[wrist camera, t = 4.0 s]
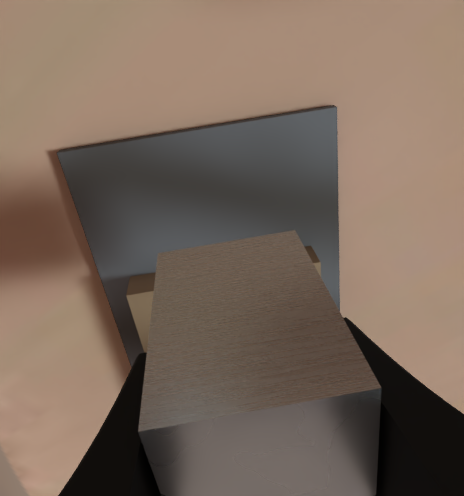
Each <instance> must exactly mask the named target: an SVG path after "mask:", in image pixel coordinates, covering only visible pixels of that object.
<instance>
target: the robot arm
mask: <svg viewBox="0 0 464 496" xmlns="http://www.w3.org/2000/svg"><path fill="white" fill-rule="evenodd" d="M343 319H344V320H345V322H346V324H347V326H348V328H349V330H350V331H351V333H352V335H353V337H354V339H355V341H356V342H357V344H358V346H359V348H360V350H361V351H362V353H363V355H364V357H365V359H366V361H367V362H368V364H369V366H370V368H371V370H372V372H373V373H374V375H375V377H376V379H377V381H378V383H379V384H380V386H381V388H382V389H381V408H380V428H379V448H378V468H377V487H376V496H464V414H463V413H461V412H460V411H458V410H457V409H456V408H454V407H453V406H451V405H450V404H449V403H447V402H446V401H445V400H443V399H442V398H441V397H439V396H438V395H437V394H435V393H434V392H433V391H431V390H430V389H429V388H427V387H426V386H425V385H424V384H422V383H421V382H420V381H418V380H417V379H416V378H415V377H413V376H412V375H411V374H410V373H409V372H407V371H406V370H405V369H404V368H403V367H401V366H400V365H399V364H398V363H397V362H395V361H394V360H393V359H392V358H391V357H390V356H388V355H387V354H386V353H385V352H384V351H383V350H382V349H380V348H379V347H378V346H377V345H376V344H375V343H374V342H373V341H372V340H371V339H369V338H368V337H367V336H366V335H365V334H364V333H363V332H362V331H361V330H360V329H359V328H358V327H357V326H356V325H354V324H353V323H352V322H351V321H350V320H349V319H348V318H346V317H345V318H343ZM146 356H147V352H145V353H140V354H139V355H138V356H137V357H136V360H135V362H134V364H133V366H132V368H131V371H130V373H129V375H128V377H127V379H126V381H125V383H124V385H123V387H122V389H121V391H120V393H119V395H118V397H117V399H116V401H115V403H114V405H113V407H112V409H111V410H110V412H109V414H108V416H107V418H106V420H105V422H104V423H103V425H102V427H101V429H100V431H99V432H98V434H97V436H96V437H95V439H94V441H93V442H92V444H91V446H90V447H89V449H88V451H87V452H86V454H85V456H84V457H83V459H82V461H81V462H80V464H79V465H78V467H77V469H76V470H75V472H74V473H73V475H72V476H71V478H70V479H69V481H68V482H67V484H66V485H65V487H64V488H63V490H62V491H61V493H60V494H59V495H58V496H161V493H160V490H159V488H158V485H157V482H156V480H155V477H154V474H153V471H152V469H151V466H150V463H149V460H148V458H147V455H146V452H145V450H144V447H143V444H142V441H141V439H140V436H139V433H138V428H139V419H140V410H141V401H142V392H143V383H144V374H145V365H146Z"/></svg>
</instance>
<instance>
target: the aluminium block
mask: <svg viewBox="0 0 464 496" xmlns="http://www.w3.org/2000/svg"><path fill="white" fill-rule="evenodd" d="M381 389H382V388H381V386H380V384H379V383H378V381H377V379H376V377H375V375H374V373H373V372H372V370H371V368H370V366H369V364H368V362H367V361H366V359H365V357H364V355H363V353H362V351H361V350H360V348H359V346H358V344H357V342H356V341H355V339H354V337H353V335H352V333H351V331H350V330H349V328H348V326H347V324H346V322H345V320H344V319H343V317H342V315H341V313H340V311H339V309H338V308H337V306H336V304H335V302H334V300H333V299H332V297H331V295H330V293H329V291H328V289H327V288H326V286H325V284H324V282H323V280H322V278H321V277H320V275H319V273H318V271H317V269H316V267H315V266H314V264H313V262H312V260H311V258H310V257H309V255H308V253H307V251H306V249H305V247H304V246H303V244H302V242H301V240H300V238H299V236H298V235H297V233H296V231H295V230H292V231H286V232H281V233H275V234H269V235H263V236H257V237H251V238H245V239H239V240H233V241H227V242H221V243H215V244H210V245H204V246H198V247H192V248H186V249H180V250H174V251H168V252H162V253H158V256H157V265H156V274H155V283H154V292H153V301H152V310H151V319H150V329H149V338H148V347H147V356H146V365H145V374H144V383H143V392H142V401H141V410H140V419H139V428H138V433H139V436H140V439H141V441H142V444H143V447H144V450H145V452H146V455H147V458H148V460H149V463H150V466H151V469H152V471H153V474H154V477H155V480H156V482H157V485H158V488H159V490H160V493H161V496H376V487H377V468H378V448H379V428H380V408H381Z"/></svg>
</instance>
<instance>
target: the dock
mask: <svg viewBox="0 0 464 496" xmlns="http://www.w3.org/2000/svg"><path fill="white" fill-rule="evenodd" d="M57 155H58V158H59V160H60V163H61V166H62V169H63V172H64V175H65V178H66V180H67V183H68V186H69V189H70V192H71V195H72V198H73V201H74V203H75V206H76V209H77V212H78V215H79V218H80V221H81V224H82V226H83V229H84V232H85V235H86V238H87V241H88V244H89V247H90V249H91V252H92V255H93V258H94V261H95V264H96V267H97V270H98V272H99V275H100V278H101V281H102V284H103V287H104V290H105V292H106V295H107V298H108V301H109V304H110V307H111V310H112V313H113V315H114V318H115V321H116V324H117V327H118V330H119V333H120V336H121V338H122V341H123V344H124V347H125V350H126V353H127V356H128V359H129V361H130V364H131V367H132V366H133V364H134V362H135V360H136V357H137V356H138V355H139V354H140V353H145V352H147V347H148V338H149V329H150V319H151V310H152V301H153V292H154V283H155V274H156V265H157V256H158V253H162V252H168V251H174V250H180V249H186V248H192V247H198V246H204V245H210V244H215V243H221V242H227V241H233V240H239V239H245V238H251V237H257V236H263V235H269V234H275V233H281V232H286V231H292V230H295V231H296V233H297V235H298V236H299V238H300V240H301V242H302V244H303V246H304V247H305V249H306V251H307V253H308V255H309V257H310V258H311V260H312V262H313V264H314V266H315V267H316V269H317V271H318V273H319V275H320V277H321V278H322V280H323V282H324V284H325V286H326V288H327V289H328V291H329V293H330V295H331V297H332V299H333V300H334V302H335V304H336V306H337V308H338V309H339V311H340V294H339V222H338V150H337V107H336V106H334V105H332V106H326V107H320V108H314V109H308V110H302V111H296V112H289V113H283V114H277V115H271V116H265V117H259V118H253V119H247V120H241V121H235V122H228V123H222V124H216V125H210V126H204V127H198V128H192V129H186V130H180V131H174V132H167V133H161V134H155V135H149V136H143V137H137V138H131V139H125V140H119V141H113V142H106V143H100V144H94V145H88V146H82V147H76V148H70V149H64V150H59V151H58V152H57Z"/></svg>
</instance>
